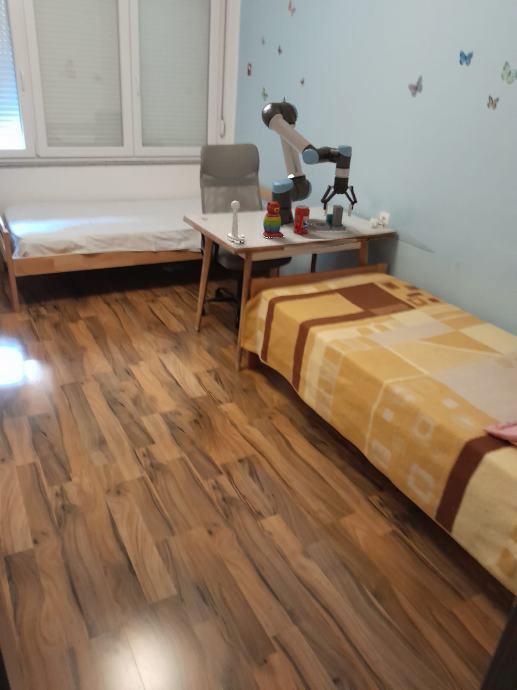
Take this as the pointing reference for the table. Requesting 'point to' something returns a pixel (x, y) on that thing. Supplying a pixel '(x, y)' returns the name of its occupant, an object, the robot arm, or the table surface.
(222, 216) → the table surface
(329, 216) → the port
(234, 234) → the joystick
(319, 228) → the gray square tray
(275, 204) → the stacking bear
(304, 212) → the soda can
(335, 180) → the robot arm
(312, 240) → the table surface
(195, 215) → the table surface
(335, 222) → the grey upright block
